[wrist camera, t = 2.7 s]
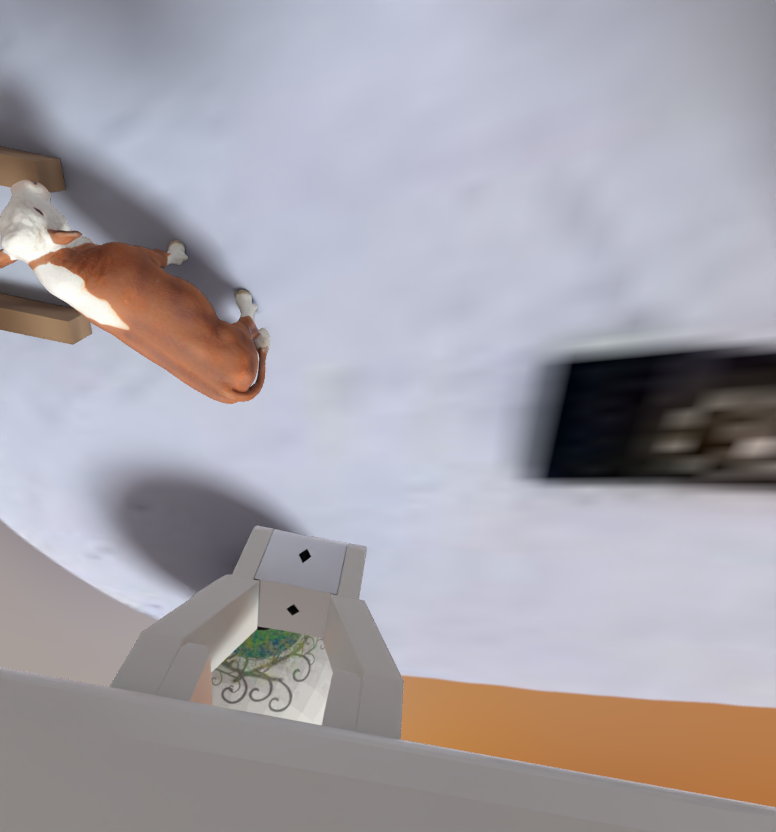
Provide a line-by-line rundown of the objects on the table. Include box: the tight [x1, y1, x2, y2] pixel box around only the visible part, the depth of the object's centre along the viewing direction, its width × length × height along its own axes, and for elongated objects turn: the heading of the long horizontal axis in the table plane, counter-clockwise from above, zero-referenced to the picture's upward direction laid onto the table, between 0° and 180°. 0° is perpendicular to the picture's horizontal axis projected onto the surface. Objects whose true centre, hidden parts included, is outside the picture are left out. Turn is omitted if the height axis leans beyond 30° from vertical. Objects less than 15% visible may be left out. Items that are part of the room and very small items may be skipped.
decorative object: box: [190, 574, 333, 725], centre depth 35 cm, size 15×15×15 cm
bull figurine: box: [0, 180, 270, 404], centre depth 24 cm, size 4×13×8 cm, turn 44°
